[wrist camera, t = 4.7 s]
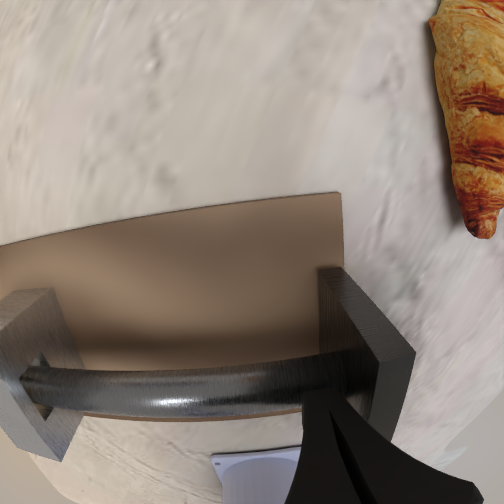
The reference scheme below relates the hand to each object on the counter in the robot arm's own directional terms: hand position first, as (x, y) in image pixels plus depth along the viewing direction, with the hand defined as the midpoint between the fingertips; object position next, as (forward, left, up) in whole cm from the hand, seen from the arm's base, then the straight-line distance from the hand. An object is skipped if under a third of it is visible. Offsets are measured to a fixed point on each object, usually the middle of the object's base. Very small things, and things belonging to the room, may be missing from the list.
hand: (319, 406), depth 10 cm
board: (0, +11, -7) cm, 13 cm away
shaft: (0, +6, -5) cm, 8 cm away
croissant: (+14, -15, -7) cm, 22 cm away
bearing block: (0, +16, -7) cm, 17 cm away
